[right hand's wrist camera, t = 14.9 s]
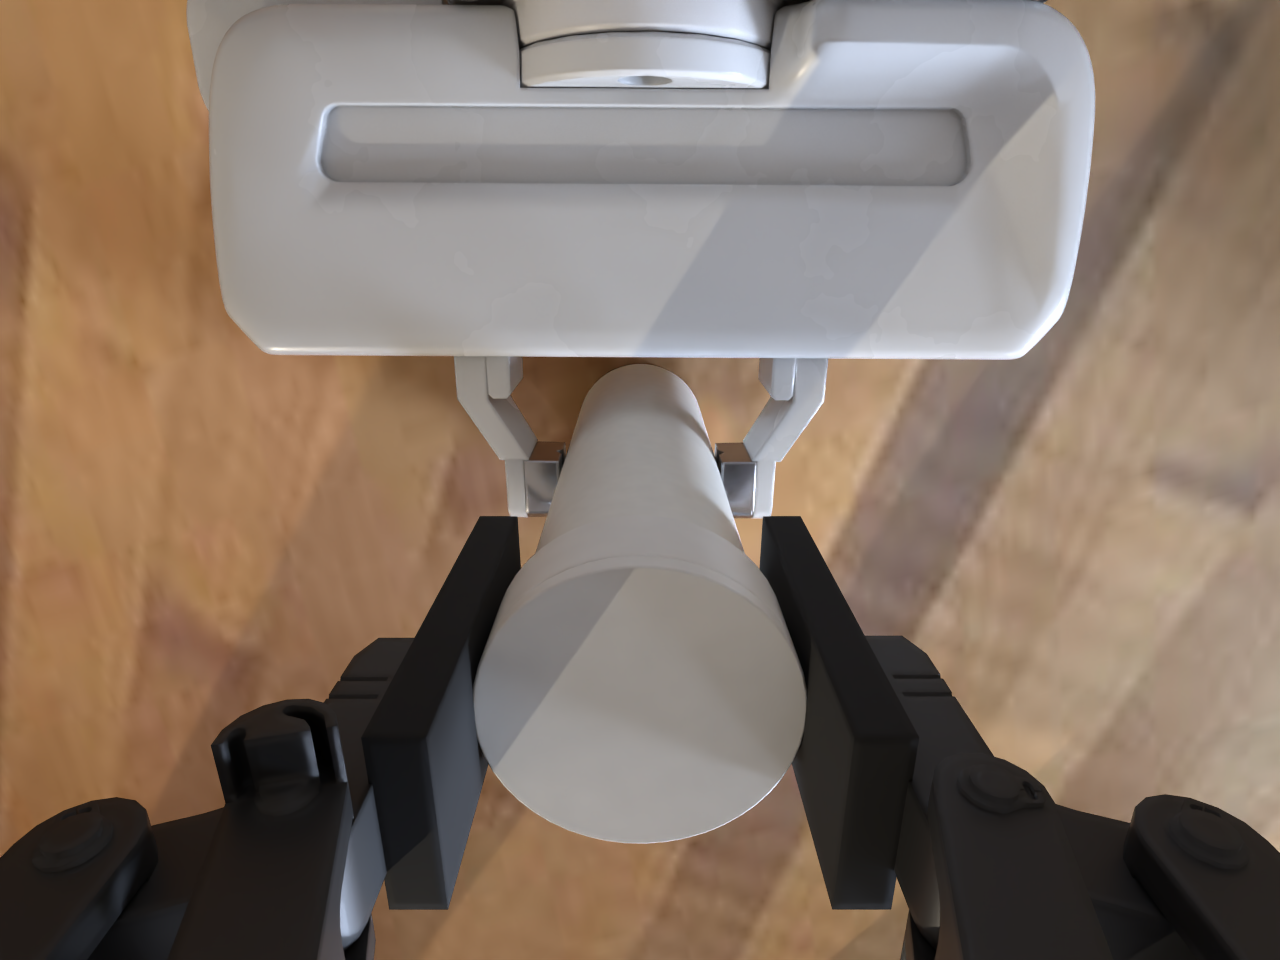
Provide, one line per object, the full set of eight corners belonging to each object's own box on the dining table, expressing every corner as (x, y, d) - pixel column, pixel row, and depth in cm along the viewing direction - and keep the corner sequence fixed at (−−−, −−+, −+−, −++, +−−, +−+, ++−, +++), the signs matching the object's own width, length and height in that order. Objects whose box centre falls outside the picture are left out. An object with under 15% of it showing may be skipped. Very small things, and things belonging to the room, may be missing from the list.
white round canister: (435, 630, 12) (400, 698, 11) (660, 453, 11) (663, 496, 9) (623, 805, 14) (620, 891, 12) (841, 662, 12) (874, 733, 11)
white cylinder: (553, 416, 26) (438, 682, 11) (648, 337, 25) (660, 512, 10) (632, 503, 27) (623, 849, 12) (725, 431, 26) (838, 713, 11)
